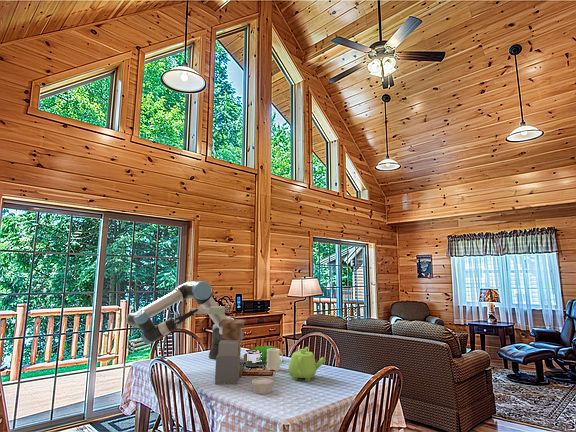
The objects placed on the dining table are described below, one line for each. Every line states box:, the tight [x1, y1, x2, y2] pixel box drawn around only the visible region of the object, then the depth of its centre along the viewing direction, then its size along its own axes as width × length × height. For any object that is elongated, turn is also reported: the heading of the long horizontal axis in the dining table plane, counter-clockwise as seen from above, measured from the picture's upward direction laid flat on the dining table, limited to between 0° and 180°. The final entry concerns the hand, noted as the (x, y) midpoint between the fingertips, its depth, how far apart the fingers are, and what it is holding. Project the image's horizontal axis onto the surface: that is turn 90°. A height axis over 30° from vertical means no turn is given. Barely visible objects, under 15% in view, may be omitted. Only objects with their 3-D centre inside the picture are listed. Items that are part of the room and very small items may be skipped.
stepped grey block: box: [214, 340, 241, 385], centre depth 209 cm, size 12×12×21 cm
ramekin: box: [251, 377, 274, 395], centre depth 191 cm, size 11×11×5 cm
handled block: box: [189, 305, 226, 315], centre depth 225 cm, size 20×8×4 cm, turn 92°
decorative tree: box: [243, 345, 278, 363], centre depth 257 cm, size 11×12×30 cm
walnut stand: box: [219, 318, 246, 378], centre depth 227 cm, size 14×20×30 cm
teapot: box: [288, 346, 327, 382], centre depth 219 cm, size 25×22×16 cm
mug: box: [266, 347, 284, 372], centre depth 237 cm, size 12×8×12 cm
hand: (203, 306), depth 225 cm, fingers closed on handled block, 3 cm apart
